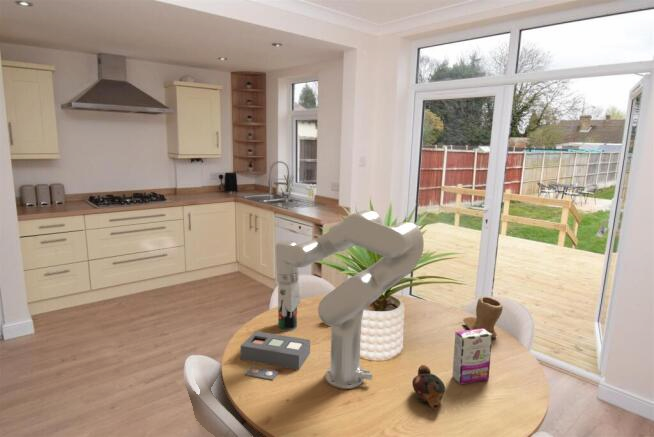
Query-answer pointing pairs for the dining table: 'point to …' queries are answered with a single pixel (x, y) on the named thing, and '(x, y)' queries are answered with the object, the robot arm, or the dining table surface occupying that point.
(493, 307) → the tan boot
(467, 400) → the dining table surface
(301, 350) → the keypad housing
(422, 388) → the decorative turtle
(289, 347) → the off-white key
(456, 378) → the candy bar box
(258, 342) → the terracotta key
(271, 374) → the card
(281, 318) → the canned tomato
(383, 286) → the robot arm
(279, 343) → the sage key
